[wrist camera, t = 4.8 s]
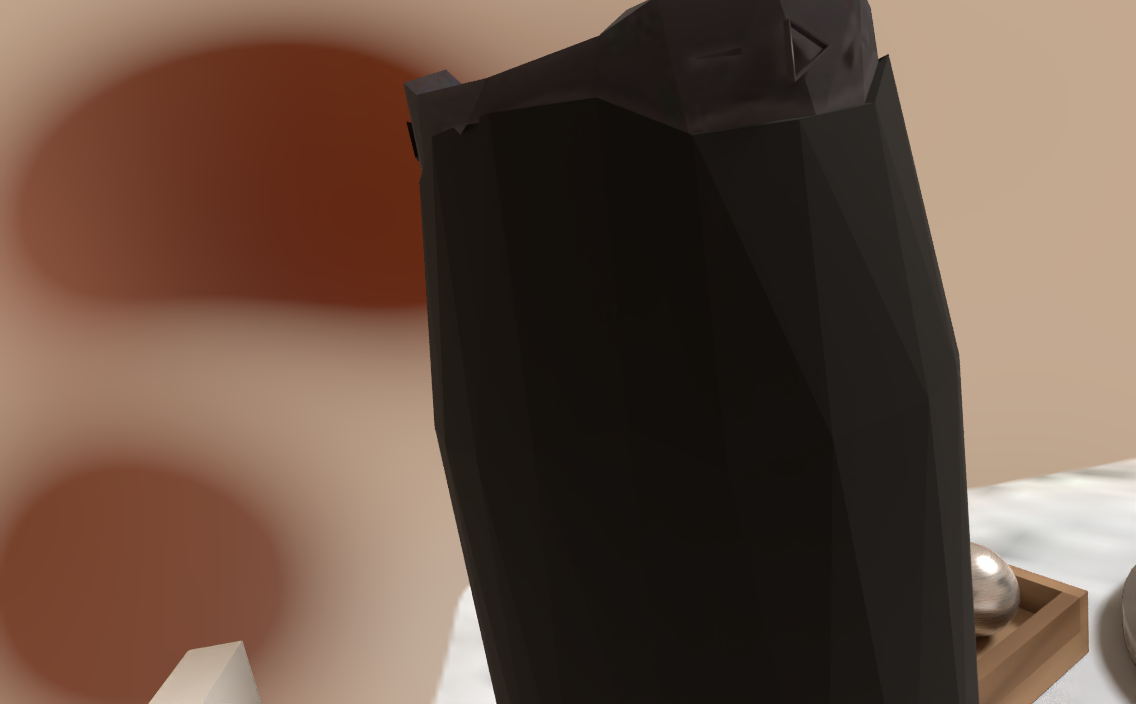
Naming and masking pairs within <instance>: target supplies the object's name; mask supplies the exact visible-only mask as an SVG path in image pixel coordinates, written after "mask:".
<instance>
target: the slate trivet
mask: <svg viewBox="0 0 1136 704" xmlns="http://www.w3.org/2000/svg"><path fill="white" fill-rule="evenodd" d="M1122 602H1123V630H1124V637H1125V642H1126V644H1127V647H1128V649H1129V652H1130V654H1131V657H1132V659H1133V661H1134V663H1135V664H1136V565H1135V566H1134V567H1133V568H1132V570H1131V571H1130V573H1129V575H1128V577H1127V579H1126V581H1125V584H1124V591H1123V597H1122Z"/></svg>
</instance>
